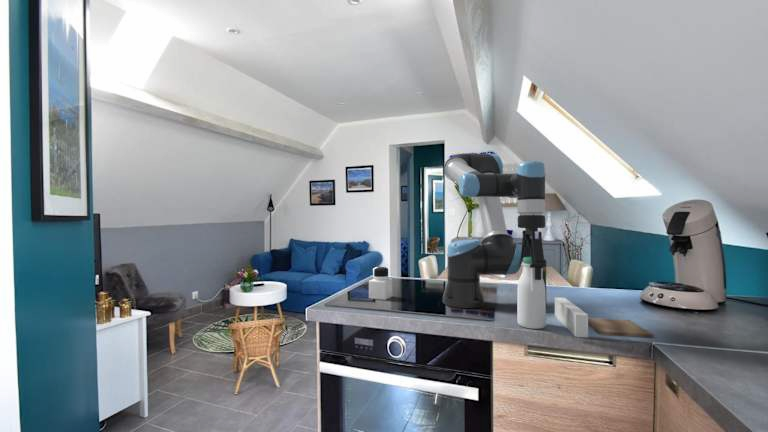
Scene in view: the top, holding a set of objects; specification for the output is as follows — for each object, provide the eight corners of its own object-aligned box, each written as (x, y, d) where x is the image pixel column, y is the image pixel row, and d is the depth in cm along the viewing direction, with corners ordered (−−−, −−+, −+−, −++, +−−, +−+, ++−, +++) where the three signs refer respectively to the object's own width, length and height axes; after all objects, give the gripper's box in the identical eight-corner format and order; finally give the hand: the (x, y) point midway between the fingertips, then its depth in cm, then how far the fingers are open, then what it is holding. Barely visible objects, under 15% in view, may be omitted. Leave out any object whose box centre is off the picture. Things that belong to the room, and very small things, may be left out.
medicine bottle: (392, 296, 140) (392, 266, 140) (385, 300, 134) (385, 269, 134) (376, 294, 143) (376, 265, 143) (368, 298, 137) (368, 268, 137)
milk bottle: (547, 331, 98) (546, 259, 98) (517, 327, 100) (517, 258, 101) (544, 323, 105) (544, 256, 105) (517, 320, 108) (517, 255, 108)
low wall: (575, 336, 93) (575, 314, 93) (554, 315, 113) (554, 297, 113) (588, 337, 92) (588, 314, 92) (564, 316, 112) (564, 297, 112)
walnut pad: (599, 334, 95) (599, 331, 95) (582, 320, 108) (582, 317, 108) (653, 337, 92) (653, 334, 92) (629, 322, 105) (629, 320, 105)
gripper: (557, 213, 90) (557, 296, 89) (535, 215, 114) (535, 280, 114) (526, 213, 91) (526, 295, 91) (511, 215, 116) (511, 279, 115)
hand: (531, 287), depth 102 cm, fingers open, 13 cm apart
